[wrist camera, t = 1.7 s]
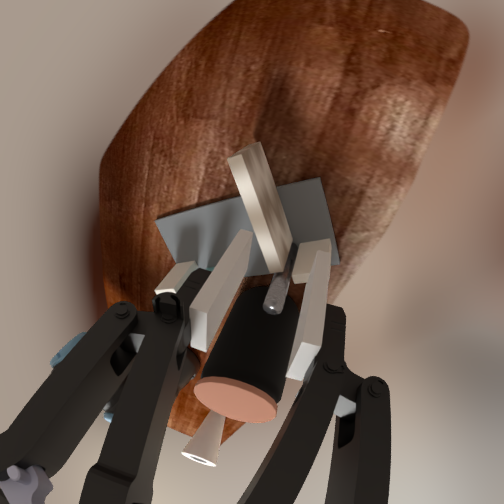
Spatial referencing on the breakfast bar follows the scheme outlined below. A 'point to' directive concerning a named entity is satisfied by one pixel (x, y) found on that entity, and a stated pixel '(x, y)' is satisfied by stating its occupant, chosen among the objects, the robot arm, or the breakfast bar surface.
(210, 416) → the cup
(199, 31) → the breakfast bar surface
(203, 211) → the mat
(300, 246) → the fence
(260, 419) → the coffee jar
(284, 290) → the hinge post
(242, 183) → the gate
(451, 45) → the breakfast bar surface
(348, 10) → the breakfast bar surface
